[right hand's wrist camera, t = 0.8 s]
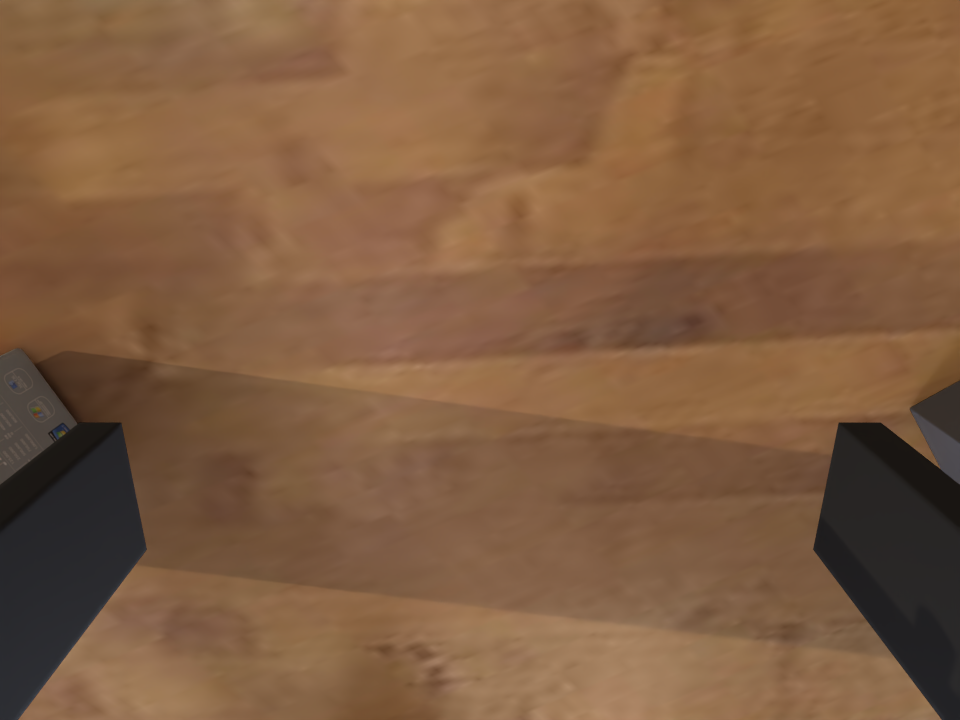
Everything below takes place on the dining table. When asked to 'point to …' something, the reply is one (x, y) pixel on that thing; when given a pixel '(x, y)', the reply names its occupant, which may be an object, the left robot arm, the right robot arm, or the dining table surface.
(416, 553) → the dining table surface
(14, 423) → the hard drive box
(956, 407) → the charcoal box
